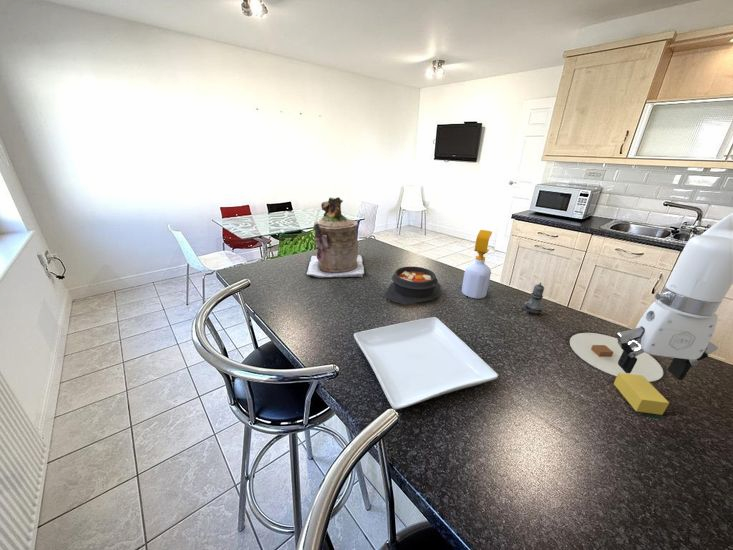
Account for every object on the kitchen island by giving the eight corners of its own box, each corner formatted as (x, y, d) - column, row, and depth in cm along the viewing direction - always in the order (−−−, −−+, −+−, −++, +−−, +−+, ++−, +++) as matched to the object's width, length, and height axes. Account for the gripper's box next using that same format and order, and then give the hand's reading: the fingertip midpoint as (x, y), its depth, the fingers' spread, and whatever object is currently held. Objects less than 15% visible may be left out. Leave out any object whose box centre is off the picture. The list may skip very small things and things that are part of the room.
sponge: (634, 390, 69) (642, 375, 67) (660, 419, 62) (669, 403, 60) (611, 387, 70) (618, 372, 68) (633, 415, 63) (642, 399, 61)
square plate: (351, 343, 83) (351, 331, 82) (434, 325, 92) (436, 315, 91) (392, 421, 60) (394, 407, 58) (498, 387, 69) (501, 374, 68)
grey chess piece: (530, 320, 96) (540, 287, 92) (517, 311, 102) (526, 279, 97) (545, 317, 98) (555, 285, 93) (531, 308, 103) (540, 277, 98)
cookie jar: (362, 258, 146) (363, 191, 133) (365, 278, 123) (366, 201, 110) (311, 258, 144) (308, 191, 131) (305, 279, 122) (300, 200, 109)
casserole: (415, 315, 97) (417, 293, 94) (373, 296, 109) (373, 276, 105) (451, 291, 114) (454, 271, 111) (411, 277, 126) (413, 258, 122)
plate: (628, 340, 87) (630, 336, 87) (683, 390, 69) (685, 386, 69) (556, 332, 90) (557, 329, 90) (590, 379, 72) (592, 375, 72)
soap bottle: (488, 292, 114) (501, 230, 104) (483, 301, 107) (496, 236, 97) (465, 286, 119) (475, 226, 109) (458, 295, 112) (469, 232, 102)
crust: (603, 349, 81) (605, 345, 80) (611, 356, 78) (613, 352, 78) (590, 349, 81) (592, 344, 80) (598, 356, 78) (600, 352, 78)
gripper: (650, 306, 53) (614, 378, 60) (761, 317, 51) (711, 391, 58) (624, 288, 60) (594, 355, 67) (721, 297, 58) (680, 365, 65)
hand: (648, 372), depth 62 cm, fingers open, 9 cm apart
